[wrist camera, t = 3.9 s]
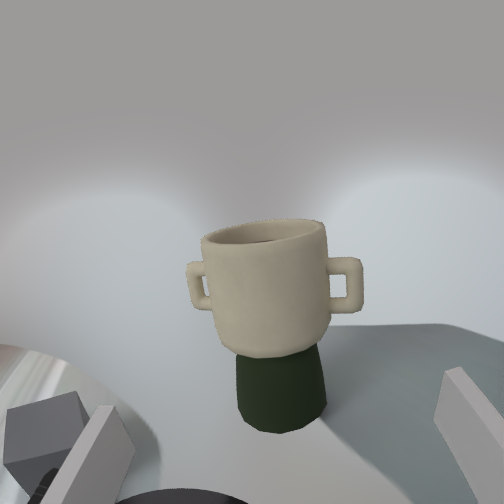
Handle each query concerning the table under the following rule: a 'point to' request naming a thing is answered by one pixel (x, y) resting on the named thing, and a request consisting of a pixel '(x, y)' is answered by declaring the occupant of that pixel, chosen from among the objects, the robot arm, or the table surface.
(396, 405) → the table surface
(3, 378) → the table surface
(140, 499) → the warmer plate
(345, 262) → the character mug
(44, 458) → the power brick
